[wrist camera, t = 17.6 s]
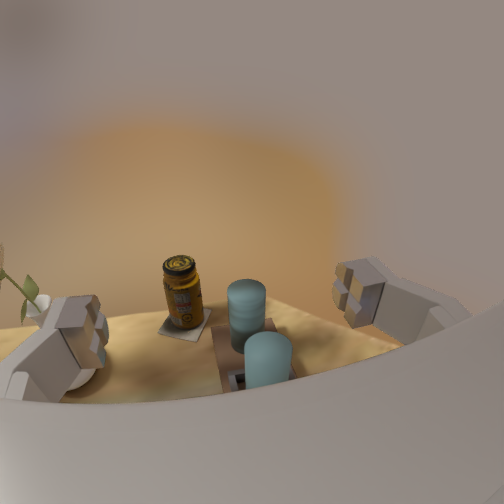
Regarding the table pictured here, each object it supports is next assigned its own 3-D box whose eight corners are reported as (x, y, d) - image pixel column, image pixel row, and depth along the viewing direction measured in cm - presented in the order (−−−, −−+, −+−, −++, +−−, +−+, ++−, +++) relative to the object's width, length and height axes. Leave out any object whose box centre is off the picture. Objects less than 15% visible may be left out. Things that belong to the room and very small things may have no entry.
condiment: (212, 310, 54) (206, 253, 48) (196, 342, 47) (186, 283, 41) (176, 304, 55) (166, 249, 49) (157, 334, 48) (142, 277, 42)
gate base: (312, 428, 33) (331, 373, 26) (236, 446, 31) (229, 396, 24) (270, 328, 50) (273, 266, 43) (212, 338, 48) (204, 276, 41)
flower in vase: (53, 345, 43) (-1, 220, 30) (105, 344, 45) (58, 207, 32) (36, 402, 32) (-48, 267, 19) (95, 406, 34) (15, 257, 21)
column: (278, 419, 32) (284, 371, 27) (240, 407, 33) (236, 358, 28) (289, 388, 36) (297, 337, 31) (254, 379, 37) (254, 326, 33)
